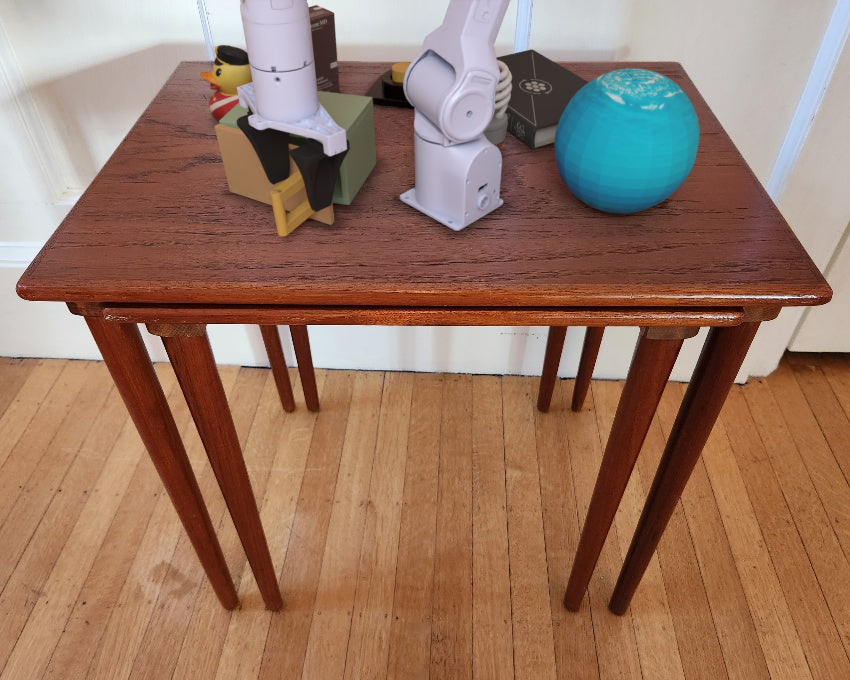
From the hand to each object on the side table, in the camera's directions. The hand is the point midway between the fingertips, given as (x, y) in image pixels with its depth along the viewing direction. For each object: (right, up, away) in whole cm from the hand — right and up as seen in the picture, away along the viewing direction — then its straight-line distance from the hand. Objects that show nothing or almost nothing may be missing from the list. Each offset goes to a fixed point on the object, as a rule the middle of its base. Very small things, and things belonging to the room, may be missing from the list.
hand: (300, 193), depth 70 cm
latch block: (+10, +21, +30) cm, 38 cm away
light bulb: (+20, +8, +17) cm, 28 cm away
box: (-3, +20, +29) cm, 35 cm away
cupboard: (-2, +5, +14) cm, 14 cm away
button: (+10, +23, +28) cm, 37 cm away
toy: (-11, +16, +25) cm, 32 cm away
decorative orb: (+34, +1, +9) cm, 36 cm away
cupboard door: (-5, -2, +6) cm, 8 cm away
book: (+28, +18, +27) cm, 43 cm away
